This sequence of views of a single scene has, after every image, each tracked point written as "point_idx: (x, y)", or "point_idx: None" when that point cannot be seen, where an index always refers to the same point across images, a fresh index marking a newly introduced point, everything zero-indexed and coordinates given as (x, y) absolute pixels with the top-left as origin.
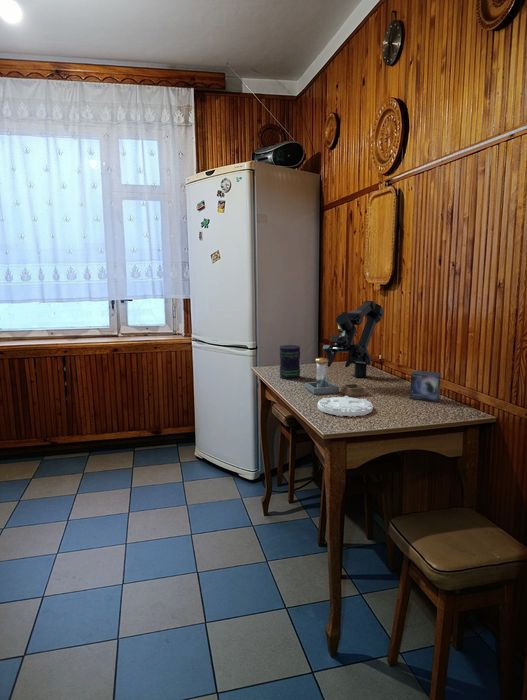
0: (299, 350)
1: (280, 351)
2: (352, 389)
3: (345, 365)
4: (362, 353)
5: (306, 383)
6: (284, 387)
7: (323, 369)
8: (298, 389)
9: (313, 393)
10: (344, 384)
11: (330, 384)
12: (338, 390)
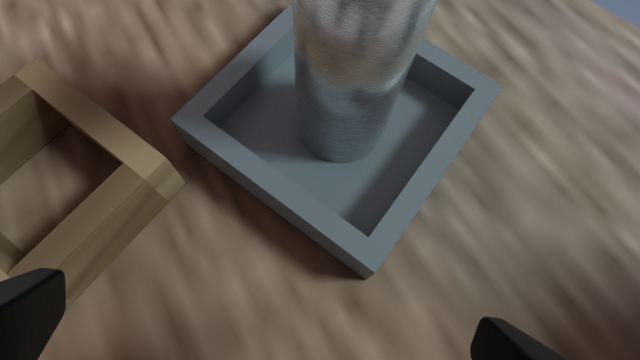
0: None
1: None
2: (10, 85)
3: (47, 273)
4: None
5: (474, 73)
6: (608, 61)
7: None
8: (493, 67)
9: None
10: (132, 184)
11: (297, 188)
12: (181, 133)
